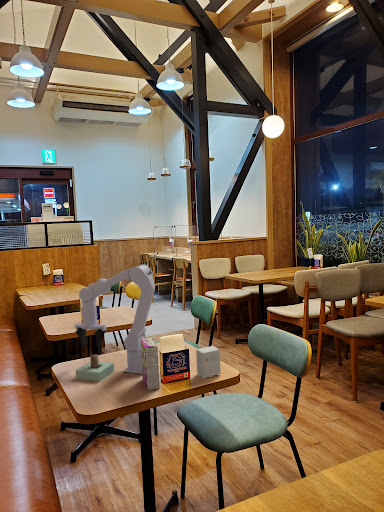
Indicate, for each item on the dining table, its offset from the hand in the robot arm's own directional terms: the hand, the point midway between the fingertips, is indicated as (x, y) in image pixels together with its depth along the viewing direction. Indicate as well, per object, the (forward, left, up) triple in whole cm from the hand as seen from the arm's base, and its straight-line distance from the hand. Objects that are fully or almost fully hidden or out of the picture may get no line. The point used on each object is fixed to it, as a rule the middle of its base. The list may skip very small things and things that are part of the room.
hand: (91, 345), depth 163 cm
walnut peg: (-6, +7, -9) cm, 13 cm away
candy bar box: (-32, +10, -10) cm, 35 cm away
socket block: (-6, +7, -9) cm, 13 cm away
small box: (-51, -4, -10) cm, 52 cm away
